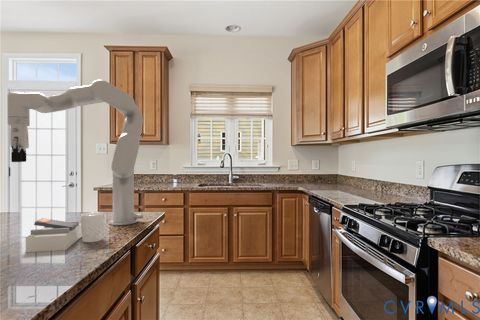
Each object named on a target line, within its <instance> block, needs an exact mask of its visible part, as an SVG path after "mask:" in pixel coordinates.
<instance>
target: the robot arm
mask: <svg viewBox="0 0 480 320" xmlns="http://www.w3.org/2000/svg"><path fill="white" fill-rule="evenodd" d="M100 103H105V104H108V105H109V106H111V107H113V108H114V109H116V110H117V112H118V113H120V114H121V115H122V116H123V118H124V121H123V125H122V130H121V133H120V136H119V137H118V139H117V141H116V146H115V150H114V153H113V158H112V162H111V171H112V219H110V220H109V221H108V224H109V225H112V226H127V225H132V224H136V223H137V222H138V219H144V217H145V216H144V213H143V214H142V213H136V211H135V165H136V162H137V158H138V153H139V149H140V140H141V134H142V129H143V125H144V124H143V122H144V119H143V118H144V117H143V113H142V111H141V109H140V108H139V107H138V105H136V103H135V99H134V98H133V96H131V95H130V94H129V93H127V92H125V91H124V90H122V89H121V88H119V87H117V86H115V85H113V84H112V83H110V82H108V81H106V80H104V79H97V80H94V81H92V83H91V84H89V85H82V86H81V85H80V86H73V87H70V88H68V89H67V90H66V91H65V92H63V93H60V94H54V95H47V96H46V95H45V94H43V93H42V92H41V93H40V92H25V93H24V92H19V91H12V92H11V91H10V92H8V94H7V125H8V126H10V127H9V128H10V134H9V136H10V137H9V144H10V148H11V151H10V152H11V154H10V155H11V156H10V157H11V158H10V160H11V163H22V162H23V163H24V162H25V163H26V162H27V150H26V149H29V148H30V144H29V129H28V127H30V125H31V124H30V122H31V121H30V117H31V115H30V110H33V111H36V112H38V113H40V114H49V113H51V114H52V113H56V112H62V111H67V110H70V109H74V108H77V107H81V106H88V105H93V104H94V105H95V104H100Z"/></svg>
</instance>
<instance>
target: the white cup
mask: <svg viewBox="0 0 480 320" xmlns="http://www.w3.org/2000/svg"><path fill="white" fill-rule="evenodd" d="M104 216H105V212H102V211H89V212H84V213H80V224H81V230H82V237H81V241H82V242H83V243H94V242H99V241H102V240H103V232H104Z"/></svg>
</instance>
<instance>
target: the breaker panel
mask: <svg viewBox="0 0 480 320" xmlns="http://www.w3.org/2000/svg"><path fill="white" fill-rule="evenodd" d="M70 222H71V223H77V227H75V228H74V229H72V230H69V228H51V227H44V226H43V227H41V228H39V229H31V230H30V234H29V235H27V236H25V253H36V252H37V253H38V252H40V253H41V252H51V251H52V252H55V251H66V250H67V249H69V248H70V247H71V246H72V245H74V244H75V243H76V242H77V241H78V240H79V239H80V238H81V239H82V230H81V223H80V221H70Z"/></svg>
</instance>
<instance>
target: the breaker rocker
mask: <svg viewBox="0 0 480 320" xmlns="http://www.w3.org/2000/svg"><path fill="white" fill-rule="evenodd" d="M71 222H72V221H65V220H64V221H62V220H58V219H51V218H44V217H42V218H39V219H38V220H35V221H34V224H33V225H34V226H38V227H43V228H44V227H51V228H69V230H72V229H74V228H75V227H77V223H71Z"/></svg>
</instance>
